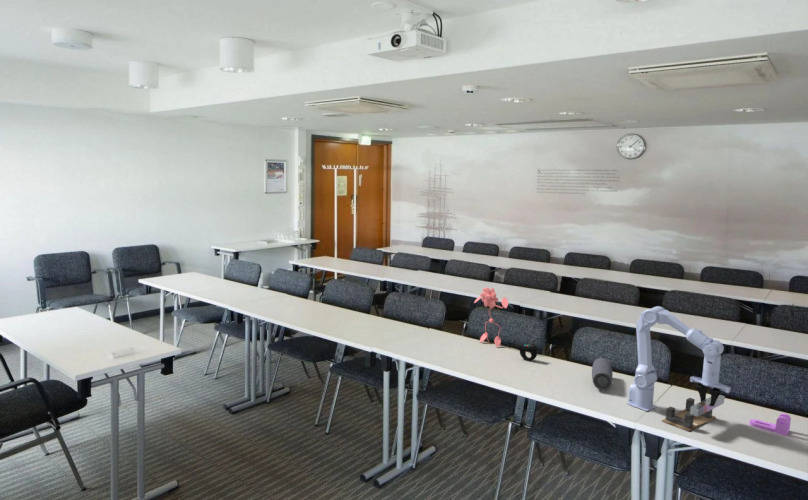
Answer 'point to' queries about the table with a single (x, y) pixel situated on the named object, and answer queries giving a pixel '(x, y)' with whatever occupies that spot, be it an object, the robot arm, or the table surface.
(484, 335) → the figurine
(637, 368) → the robot arm
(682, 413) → the board
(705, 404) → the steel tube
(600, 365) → the bluetooth speaker
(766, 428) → the bracket
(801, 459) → the table surface
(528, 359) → the controller
